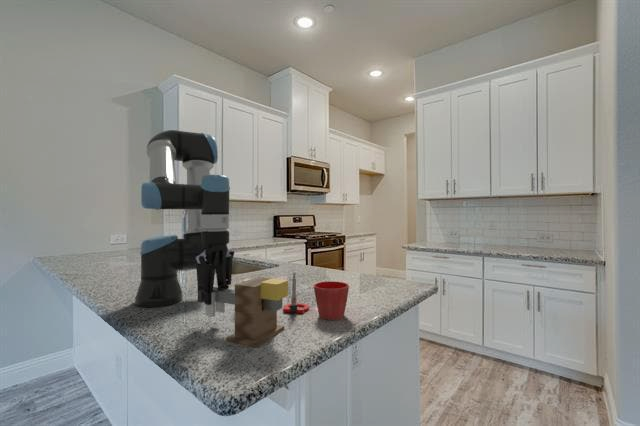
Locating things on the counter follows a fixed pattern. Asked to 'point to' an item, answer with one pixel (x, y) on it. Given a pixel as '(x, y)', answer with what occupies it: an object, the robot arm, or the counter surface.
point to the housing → (252, 315)
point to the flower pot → (331, 299)
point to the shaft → (229, 297)
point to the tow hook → (293, 301)
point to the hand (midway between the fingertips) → (215, 313)
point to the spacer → (274, 289)
